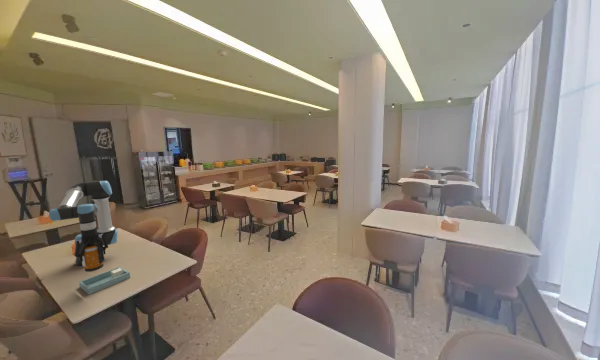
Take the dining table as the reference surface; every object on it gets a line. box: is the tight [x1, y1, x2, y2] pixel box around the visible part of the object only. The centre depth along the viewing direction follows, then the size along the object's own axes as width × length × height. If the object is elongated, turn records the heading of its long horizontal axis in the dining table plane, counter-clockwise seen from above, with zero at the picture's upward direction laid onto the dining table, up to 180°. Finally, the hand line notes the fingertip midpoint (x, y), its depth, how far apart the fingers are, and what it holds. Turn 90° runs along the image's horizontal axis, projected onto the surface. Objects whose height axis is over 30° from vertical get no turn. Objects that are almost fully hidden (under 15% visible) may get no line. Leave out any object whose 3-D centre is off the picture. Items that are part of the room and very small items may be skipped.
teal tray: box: [78, 266, 131, 296], centre depth 154 cm, size 16×22×4 cm
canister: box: [82, 239, 106, 272], centre depth 148 cm, size 9×11×20 cm
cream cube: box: [111, 268, 123, 279], centre depth 159 cm, size 5×5×5 cm
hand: (93, 262), depth 148 cm, fingers closed on canister, 9 cm apart
